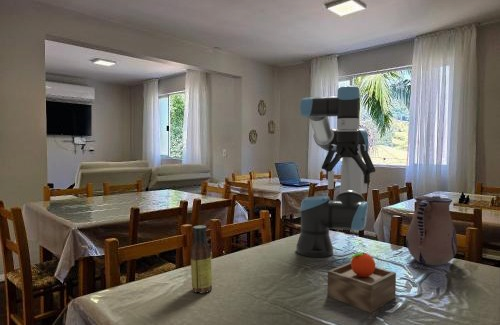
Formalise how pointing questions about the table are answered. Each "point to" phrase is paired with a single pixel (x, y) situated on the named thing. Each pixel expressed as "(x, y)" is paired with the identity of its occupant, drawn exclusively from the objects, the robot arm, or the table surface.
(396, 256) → the table surface
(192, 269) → the sauce bottle
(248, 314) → the table surface
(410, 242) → the ceramic pitcher
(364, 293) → the walnut tray
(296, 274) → the table surface
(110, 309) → the table surface
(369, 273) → the clementine
